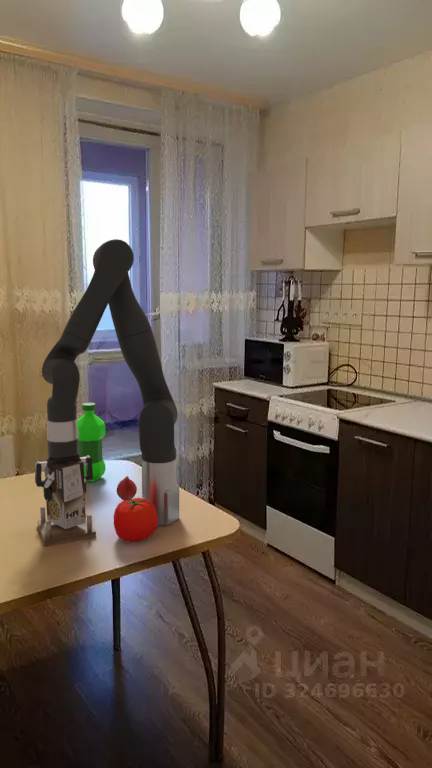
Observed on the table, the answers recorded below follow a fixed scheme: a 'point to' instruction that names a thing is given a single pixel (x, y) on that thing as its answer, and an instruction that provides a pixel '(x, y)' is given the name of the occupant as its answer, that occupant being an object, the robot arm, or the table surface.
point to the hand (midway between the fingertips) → (65, 498)
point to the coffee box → (67, 494)
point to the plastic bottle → (91, 439)
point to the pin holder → (64, 531)
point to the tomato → (135, 520)
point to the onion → (126, 489)
